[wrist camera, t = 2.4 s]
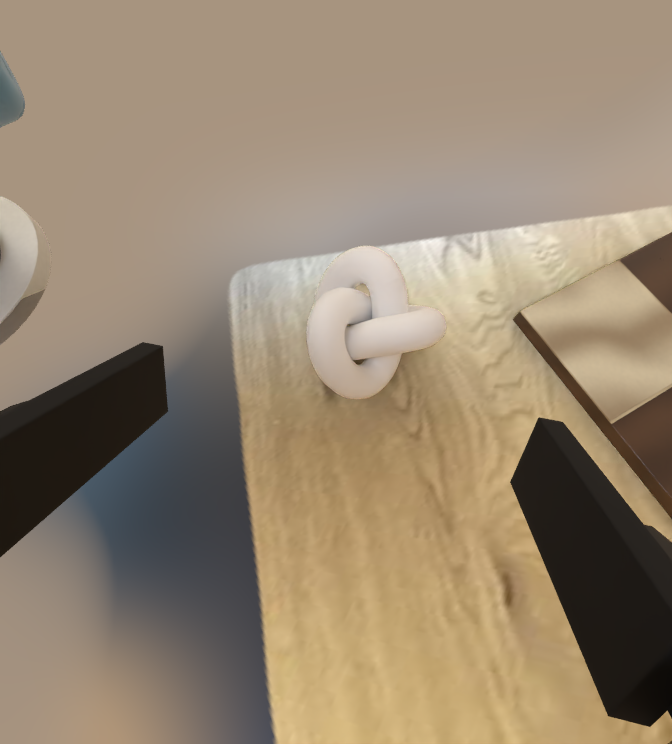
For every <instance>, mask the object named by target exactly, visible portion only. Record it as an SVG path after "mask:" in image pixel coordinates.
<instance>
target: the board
mask: <svg viewBox="0 0 672 744" xmlns="http://www.w3.org/2000/svg"><path fill="white" fill-rule="evenodd" d="M513 320H514V321H515V323H516V324H517V325H518V326H519V328H520V329H521V330H522V331H523V333H524V334H525V335H526V336H527V338H528V339H529V340H530V341H531V343H532V344H533V345H534V346H535V348H536V349H537V350H538V351H539V353H540V354H541V355H542V356H543V358H544V359H545V360H546V361H547V363H548V364H549V365H550V366H551V368H552V369H553V370H554V371H555V373H556V374H557V375H558V376H559V378H560V379H561V380H562V381H563V383H564V384H565V385H566V386H567V388H568V389H569V390H570V391H571V393H572V394H573V395H574V397H575V398H576V399H577V400H578V402H579V403H580V404H581V405H582V407H583V408H584V409H585V410H586V412H587V413H588V414H589V415H590V417H591V418H592V419H593V420H594V422H595V423H596V424H597V425H598V427H599V428H600V429H601V430H602V432H603V433H604V434H605V435H606V437H607V438H608V439H609V440H610V442H611V443H612V444H613V445H614V447H615V448H616V449H617V450H618V452H619V453H620V454H621V455H622V457H623V458H624V459H625V460H626V462H627V463H628V464H629V465H630V467H631V468H632V469H633V470H634V472H635V473H636V474H637V475H638V477H639V478H640V479H641V480H642V482H643V483H644V484H645V485H646V487H647V488H648V489H649V490H650V492H651V493H652V494H653V495H654V497H655V498H656V499H657V500H658V502H659V503H660V504H661V505H662V507H663V508H664V509H665V510H666V512H667V513H668V514H669V515H670V517H671V518H672V232H671V233H669V234H667V235H666V236H664V237H662V238H660V239H658V240H656V241H654V242H652V243H650V244H648V245H646V246H645V247H643V248H641V249H639V250H637V251H635V252H633V253H631V254H629V255H627V256H625V257H624V258H622V259H620V260H617V261H615V262H613V263H611V264H609V265H607V266H605V267H603V268H601V269H599V270H598V271H596V272H594V273H592V274H590V275H588V276H586V277H584V278H582V279H580V280H578V281H577V282H575V283H573V284H571V285H569V286H567V287H565V288H563V289H561V290H559V291H557V292H556V293H554V294H552V295H550V296H548V297H546V298H544V299H542V300H540V301H538V302H536V303H534V304H533V305H531V306H529V307H527V308H525V309H523V310H521V311H520V312H519V313H518V314H517V315H516V316H515V317H514V319H513Z"/></svg>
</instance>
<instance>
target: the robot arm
mask: <svg viewBox="0 0 672 744" xmlns="http://www.w3.org/2000/svg"><path fill="white" fill-rule="evenodd" d="M24 108H25V101H24V98H23V94H22V91H21V89H20V87H19V85H18V83H17V81H16V79H15V77H14V75H13V73H12V71H11V69H10V68H9V66H8V64H7V62H6V60H5V59H4V57H3V55H2V53H1V51H0V127H2V126H5V125H7V124H9V123H12V122H14V121H16V120H18V119H19V118H20V117H21V116H22V114H23V112H24ZM0 259H1V248H0ZM167 412H168V407H167V394H166V381H165V369H164V356H163V346H160V345H154V344H149V343H144V342H143V343H141V344H139V345H137V346H135V347H133V348H131V349H129V350H127V351H125V352H123V353H121V354H119V355H117V356H115V357H113V358H111V359H110V360H107V361H106V362H103V363H102V364H100V365H98V366H96V367H94V368H92V369H90V370H88V371H86V372H84V373H82V374H80V375H78V376H76V377H74V378H72V379H70V380H68V381H67V382H64V383H63V384H61V385H59V386H57V387H55V388H53V389H51V390H49V391H47V392H45V393H43V394H41V395H39V396H37V397H35V398H33V399H31V400H29V401H26V402H22V403H19V404H16V405H13V406H10V407H8V408H6V409H4V410H2V411H0V557H1V556H2V555H3V554H5V553H6V552H7V551H8V550H9V549H10V548H11V547H13V546H14V545H15V544H16V543H17V542H18V541H19V540H21V539H22V538H23V537H24V536H25V535H26V534H28V533H29V532H30V531H31V530H32V529H33V528H34V527H36V526H37V525H38V524H39V523H40V522H41V521H42V520H44V519H45V518H46V517H47V516H48V515H49V514H51V513H52V512H53V511H54V510H55V509H56V508H57V507H58V506H60V505H61V504H62V503H63V502H64V501H65V500H66V499H68V498H69V497H70V496H71V495H72V494H73V493H75V492H76V491H77V490H78V489H79V488H80V487H81V486H83V485H84V484H85V483H86V482H87V481H88V480H90V479H91V478H92V477H93V476H94V475H95V474H96V473H98V472H99V471H100V470H101V469H102V468H103V467H105V466H106V465H107V464H108V463H109V462H110V461H111V460H113V459H114V458H115V457H116V456H117V455H118V454H119V453H121V452H122V451H123V450H124V449H125V448H126V447H127V446H129V445H130V444H131V443H132V442H133V441H134V440H136V439H137V438H138V437H139V436H140V435H141V434H143V433H144V432H145V431H146V430H147V429H148V428H149V427H151V426H152V425H153V424H154V423H155V422H156V421H157V420H159V419H160V418H161V417H162V416H163V415H164V414H166V413H167ZM510 483H511V485H512V487H513V490H514V492H515V494H516V497H517V499H518V502H519V504H520V506H521V509H522V511H523V514H524V516H525V518H526V521H527V523H528V526H529V528H530V530H531V533H532V535H533V537H534V540H535V542H536V545H537V547H538V549H539V552H540V554H541V557H542V559H543V561H544V564H545V566H546V569H547V571H548V573H549V576H550V578H551V580H552V583H553V585H554V588H555V590H556V592H557V595H558V597H559V600H560V602H561V604H562V607H563V609H564V612H565V614H566V616H567V619H568V621H569V624H570V626H571V628H572V631H573V633H574V635H575V638H576V640H577V643H578V645H579V647H580V650H581V652H582V655H583V657H584V659H585V662H586V664H587V667H588V669H589V671H590V674H591V676H592V678H593V681H594V683H595V686H596V688H597V690H598V693H599V695H600V698H601V700H602V702H603V705H604V707H605V710H606V712H607V714H608V716H610V717H614V718H618V719H622V720H626V721H629V722H633V723H637V724H641V725H645V726H649V727H650V726H651V725H652V724H654V723H655V722H656V721H657V720H658V719H659V718H660V717H661V716H662V715H663V714H664V713H665V712H666V711H667V710H668V712H669V714H670V716H671V718H672V542H670V541H669V540H668V539H667V538H666V537H664V536H663V535H662V534H661V533H660V532H658V531H657V530H656V529H655V528H654V527H652V526H647V525H644V524H643V523H642V522H641V521H640V519H639V518H638V517H637V515H636V514H635V513H634V512H633V510H632V509H631V508H630V507H629V505H628V504H627V503H626V502H625V500H624V499H623V498H622V496H621V495H620V494H619V493H618V491H617V490H616V489H615V488H614V486H613V485H612V484H611V482H610V481H609V480H608V479H607V477H606V476H605V475H604V474H603V472H602V471H601V470H600V469H599V467H598V466H597V465H596V463H595V462H594V461H593V460H592V458H591V457H590V456H589V455H588V453H587V452H586V451H585V450H584V448H583V447H582V446H581V444H580V443H579V442H578V441H577V439H576V438H575V437H574V436H573V434H572V433H571V432H570V430H569V429H568V428H567V427H566V425H565V424H564V423H563V422H560V421H555V420H549V419H544V418H538V420H537V423H536V425H535V427H534V429H533V432H532V434H531V436H530V438H529V441H528V443H527V445H526V447H525V450H524V452H523V454H522V457H521V459H520V461H519V463H518V466H517V468H516V470H515V472H514V475H513V477H512V479H511V482H510ZM668 744H672V741H671V742H669V743H668Z"/></svg>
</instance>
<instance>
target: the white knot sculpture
mask: <svg viewBox="0 0 672 744" xmlns="http://www.w3.org/2000/svg"><path fill="white" fill-rule="evenodd" d="M362 283H364V284H365V285H366V286H367V288H368V290H369V292H370V296H369V295H367V294H365V293H363V292H361V291H359V290H357V289H355V287H357V286H358V285H359V284H362ZM347 324H349V325H351V326H347ZM446 328H447V325H446V321H445V317H444V315H443V314H442V313H441V312H440V311H439V310H438V309H435V308H431V307H427V306H420V305H411V304H408V293H407V287H406V283H405V280H404V277H403V274H402V272H401V270H400V268H399V267H398V265H397V263H396V262H395V261H394V260H393V258H392V257H391V256H390V255H388V254H387V253H385V252H384V251H382V250H381V249H379V248H376V247H373V246H359V247H356V248H353V249H350V250H347V251H346V252H344V253H342V254H341V255H339V256H338V257H337V258H336V259H335V260H334V261H333V262H332V263H331V264H330V265H329V267H328V268H327V269H326V271H325V272H324V274H323V276H322V278H321V280H320V282H319V285H318V288H317V291H316V294H315V298H314V303H313V307H312V309H311V311H310V314H309V317H308V322H307V329H306V342H307V348H308V354H309V357H310V360H311V363H312V366H313V367H314V369H315V371H316V373H317V375H318V376H319V378H320V379H321V380H322V381H323V383H324V384H325V385H327V386H328V387H329V388H330V389H332V390H333V391H334V392H335V393H337V394H338V395H340V396H343V397H345V398H349V399H364V398H369V397H371V396H374V395H375V394H377V393H378V392H380V391H381V390H382V389H383V388H384V387H385V386H386V385H387V384H388V382H389V381H390V380H391V378H392V377H393V375H394V373H395V371H396V369H397V367H398V365H399V362H400V359H401V355H402V353H407V352H412V351H416V350H421V349H425V348H428V347H431V346H433V345H435V344H436V343H437V342H438V341H439V340H440V339H441V338H443V337H444V334H445V331H446ZM360 359H364V361H363V363H362V364H360V365H357V364H356V363H355V362H354V361H353V360H360Z"/></svg>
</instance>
